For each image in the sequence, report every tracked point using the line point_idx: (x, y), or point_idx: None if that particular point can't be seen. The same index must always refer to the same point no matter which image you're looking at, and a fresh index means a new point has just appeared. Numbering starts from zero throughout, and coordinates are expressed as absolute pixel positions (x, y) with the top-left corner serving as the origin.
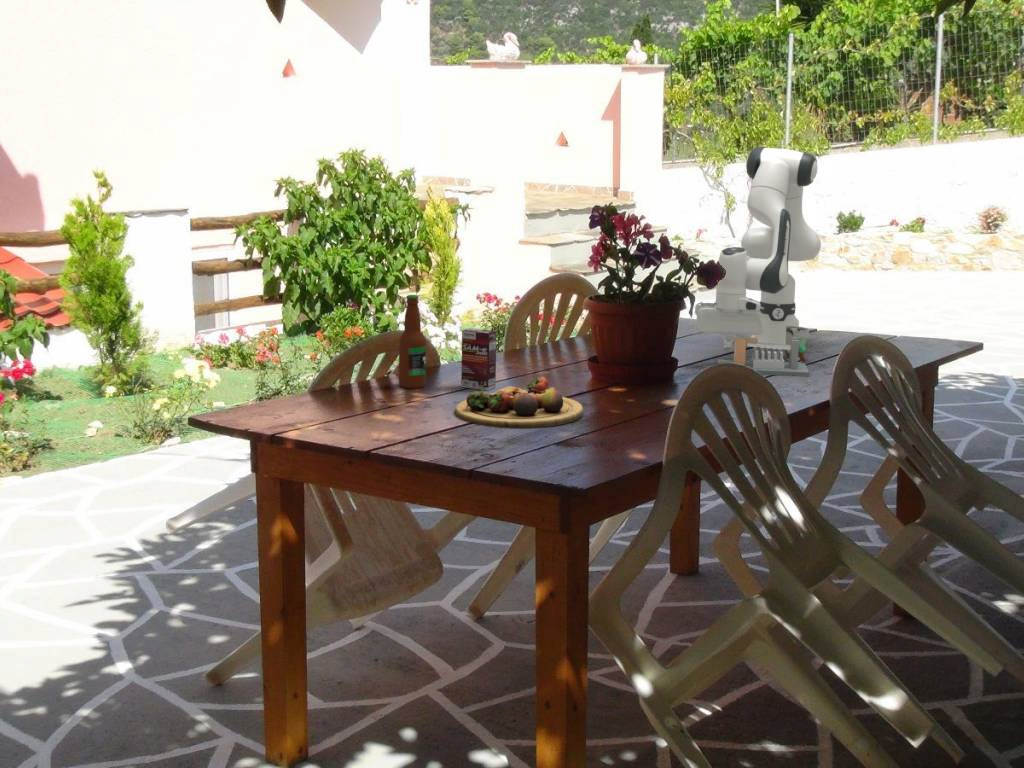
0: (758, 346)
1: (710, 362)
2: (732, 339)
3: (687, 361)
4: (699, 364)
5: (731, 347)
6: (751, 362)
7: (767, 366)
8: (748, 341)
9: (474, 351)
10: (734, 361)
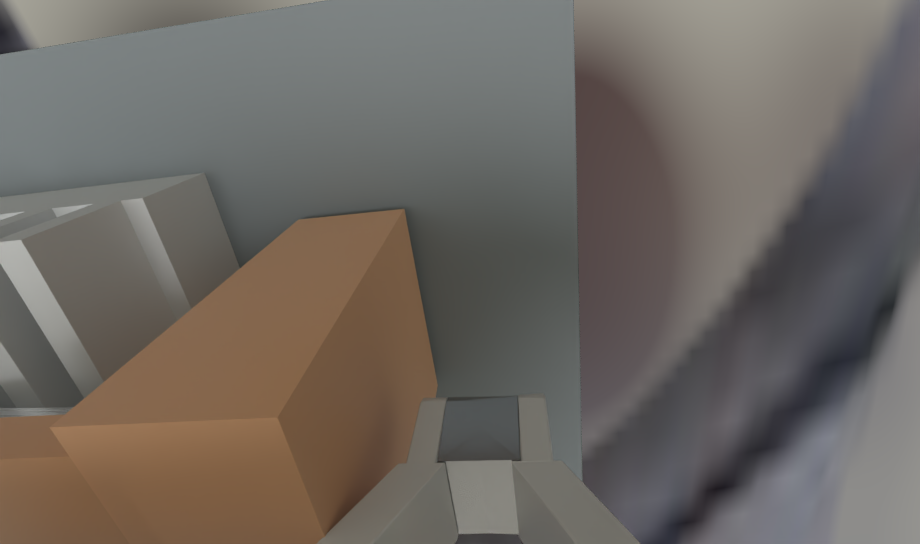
0: (5, 416)
1: (635, 473)
2: (392, 520)
3: (829, 471)
4: (742, 383)
5: (430, 401)
6: None
7: (51, 194)
8: (45, 432)
9: None
10: (406, 270)
